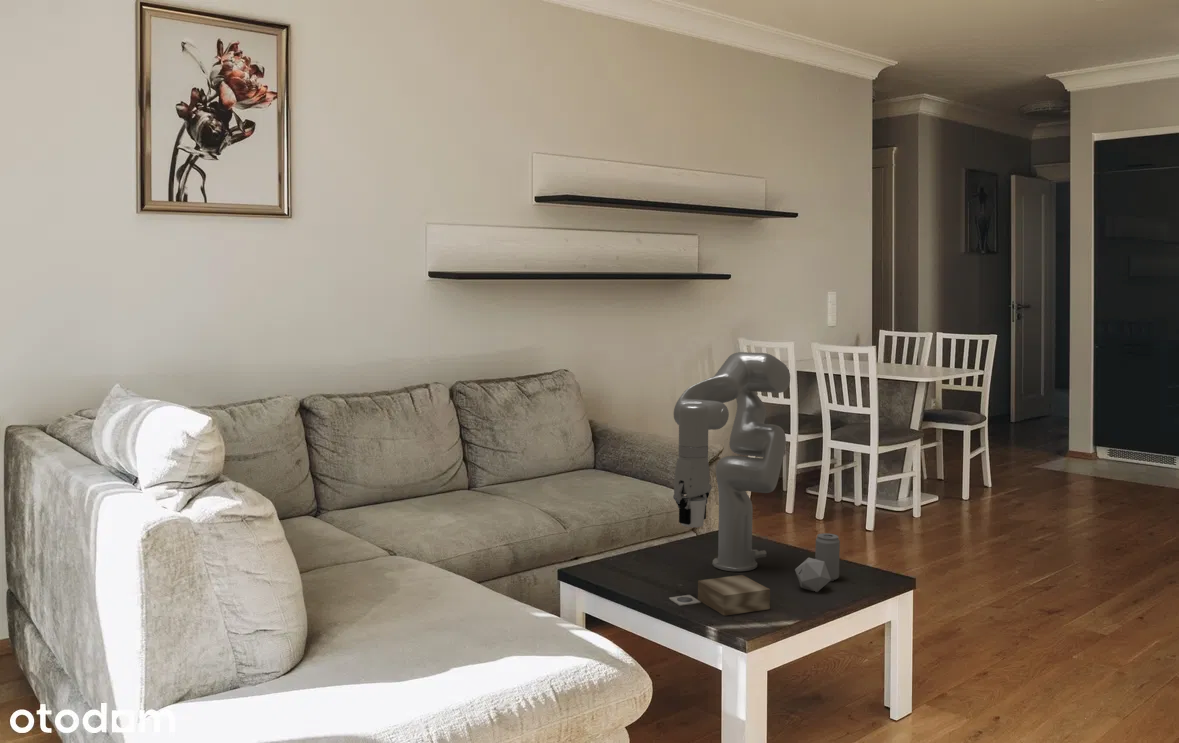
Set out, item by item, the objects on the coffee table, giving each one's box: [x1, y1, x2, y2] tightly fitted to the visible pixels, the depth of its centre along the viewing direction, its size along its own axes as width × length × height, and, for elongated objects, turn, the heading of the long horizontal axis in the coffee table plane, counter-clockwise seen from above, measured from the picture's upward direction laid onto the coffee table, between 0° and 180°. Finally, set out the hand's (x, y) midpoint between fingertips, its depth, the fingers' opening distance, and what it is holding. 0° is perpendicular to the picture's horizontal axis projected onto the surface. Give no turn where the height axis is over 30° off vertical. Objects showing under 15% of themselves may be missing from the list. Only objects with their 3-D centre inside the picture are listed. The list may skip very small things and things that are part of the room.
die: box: [794, 557, 831, 593], centre depth 257 cm, size 8×9×10 cm
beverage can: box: [814, 532, 841, 582], centre depth 266 cm, size 6×6×12 cm
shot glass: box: [680, 496, 707, 528], centre depth 251 cm, size 7×7×7 cm
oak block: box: [697, 574, 771, 617], centre depth 244 cm, size 13×13×5 cm
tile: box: [668, 594, 702, 607], centre depth 247 cm, size 6×6×1 cm
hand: (692, 520), depth 251 cm, fingers closed on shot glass, 6 cm apart
